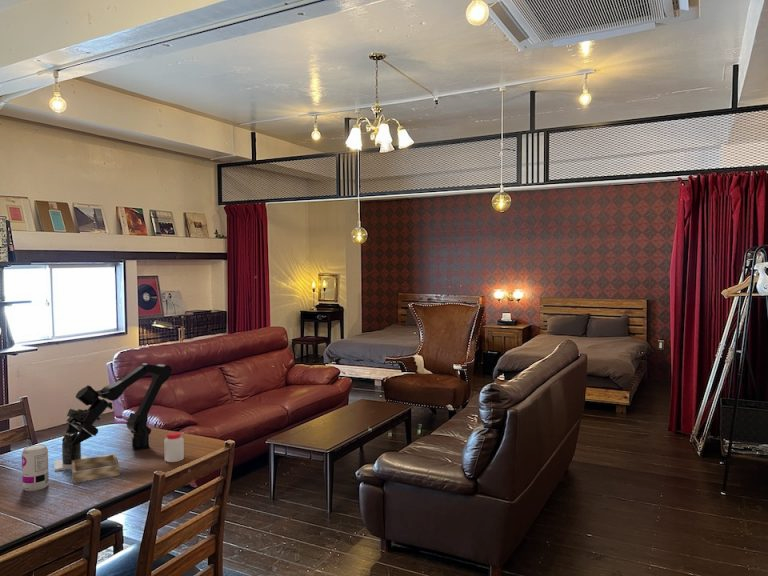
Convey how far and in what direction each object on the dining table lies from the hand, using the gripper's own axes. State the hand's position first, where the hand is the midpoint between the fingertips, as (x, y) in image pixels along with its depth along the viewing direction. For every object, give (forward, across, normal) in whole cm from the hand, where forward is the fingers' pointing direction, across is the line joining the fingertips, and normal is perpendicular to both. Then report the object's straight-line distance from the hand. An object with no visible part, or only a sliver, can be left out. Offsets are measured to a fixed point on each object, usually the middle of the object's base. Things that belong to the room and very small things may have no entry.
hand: (67, 443), depth 234 cm
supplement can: (+19, +17, -6) cm, 26 cm away
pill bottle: (-16, +27, +29) cm, 43 cm away
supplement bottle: (+5, 0, +7) cm, 8 cm away
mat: (+6, 0, +7) cm, 9 cm away
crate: (+4, +18, +9) cm, 20 cm away
